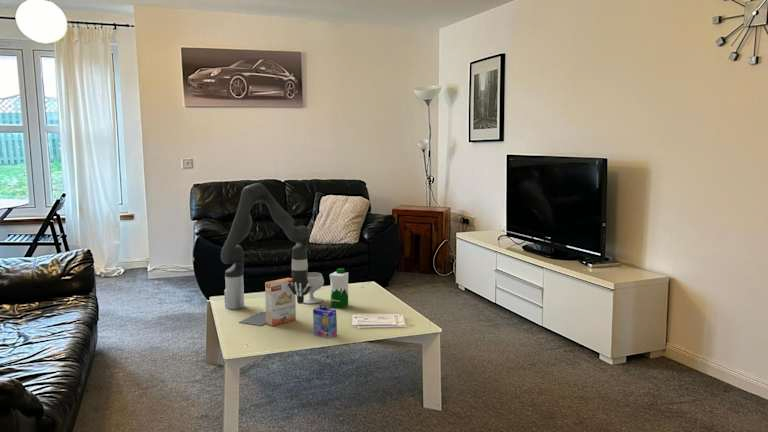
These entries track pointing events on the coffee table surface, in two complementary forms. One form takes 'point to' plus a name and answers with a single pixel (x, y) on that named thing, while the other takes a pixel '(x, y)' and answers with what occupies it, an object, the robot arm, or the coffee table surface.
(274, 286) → the cracker box
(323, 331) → the ink cartridge box
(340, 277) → the milk carton
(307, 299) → the chalice
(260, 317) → the mat
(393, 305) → the coffee table surface
